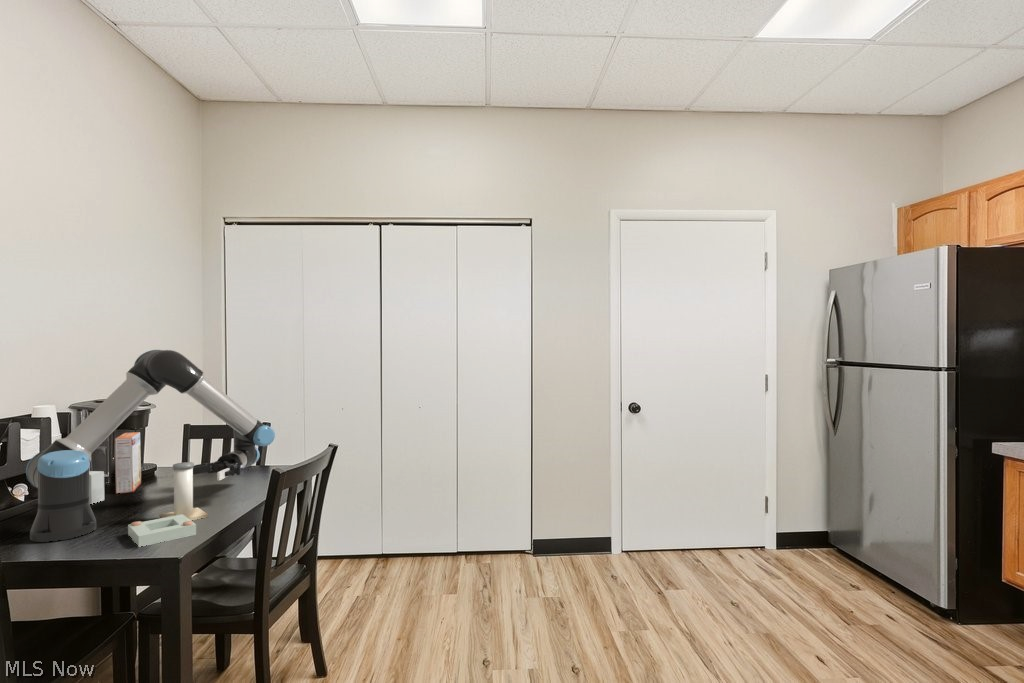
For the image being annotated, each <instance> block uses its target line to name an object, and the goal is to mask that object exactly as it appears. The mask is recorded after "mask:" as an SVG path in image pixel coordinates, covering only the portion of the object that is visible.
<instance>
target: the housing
mask: <svg viewBox="0 0 1024 683" xmlns="http://www.w3.org/2000/svg"><path fill="white" fill-rule="evenodd" d="M127 532H128V533H127V535H128V537H129V536H130V537H131V538H132V539H131V538H130V537H129V538H130V539H131V541H132V542H133V543H134V544H135V543H136V544H137V545H138V546H137V545H136V544H135V545H136V546H137V547H138V548H142V547H141V546H143V547H146V545H147V546H150V545H151V546H152V545H156V544H159V543H160V542H161V543H165V542H169V541H170V542H171V541H174V540H178V539H183V538H187V537H192V536H196V535H197V523H195V522H194V520H193V521H191V520H190V519H188V518H187V517H186V516H184V515H183V514H181V515H176V516H170V517H165V518H156V519H150V520H146V521H141V520H138V521H133V522H131V523H130V524H128V525H127ZM164 541H165V542H164Z"/></svg>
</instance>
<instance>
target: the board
mask: <svg viewBox="0 0 1024 683" xmlns="http://www.w3.org/2000/svg"><path fill="white" fill-rule="evenodd" d="M170 516H174V511H171V512H167V513H159V517H160V518H165V517H170ZM186 517H187V518H188V519H190V520H191V521H192V520H193V521H197V519H198V520H202V519H201V518H203V519H206V517H208V518H209V514H208V512H205V511H204V510H202V509H201V508H200V507H193V514H191V515H188V516H186ZM160 518H159V519H160Z"/></svg>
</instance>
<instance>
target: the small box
mask: <svg viewBox="0 0 1024 683" xmlns="http://www.w3.org/2000/svg"><path fill="white" fill-rule="evenodd" d="M100 501H101V502H103V501H105V472H104V471H103V470H102V471H101V470H98V471H97V470H94V471H93V470H89V504H92V505H94V504H93V503H95V504H97V502H98V503H100Z"/></svg>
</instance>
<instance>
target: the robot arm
mask: <svg viewBox="0 0 1024 683" xmlns="http://www.w3.org/2000/svg"><path fill="white" fill-rule="evenodd" d="M204 374H205V373H204V371H203V370H201V369H200V368H199V367H198V366H197V365H196V364H194V363H193V362H192V361H191V360H190V359H188V358H187V357H186V356H185V355H183V354H182V353H180V352H177V351H176V350H172V349H164V350H163V349H151V350H148V351H145V352H143V353H142V354H140V355H138V357H137V358H136V359H135V361H134V363H133V366H132V367H131V368H130V369H129V370H127V372H126V373H125V376H126V377H125V380H124V381H123V382H122V383H121V384H120V385H119V386H118V387H117V388H116V389H115V390H114V391H113V392H112V393H111V394H110V395H109V396H108V397H106V399H105V400H103V401H102V403H101V404H99V405H98V406H97V407H96V408H95V409H94V410H93V411H92V412H90V413H89V415H88V416H87V417H86V418H85V419H84V420H83V421H81V423H79V425H78V426H77V427H75V428H74V429H73V430H72V431H71V432H70V433H69V434H68V435H67V436H66V437H63V438H57V439H55V440H54V441H53V442H52V443H51V444H50V445H49V446H48V447H47V448H46V449H45V450H42V451H40V452H37V453H36V454H35V455H33V457H32V458H31V459H30V460H29V461H28V463H27V465H26V469H25V474H26V480H27V481H28V482H29V483H30V485H31V486H33V487H34V488H36V489H37V513H36V516H35V518H34V520H33V523H32V525H31V528H30V531H29V540H30V541H31V542H35V543H50V542H49V541H53V542H59V541H58V540H61V541H65V540H71V539H75V538H74V537H76V538H79V537H82V536H81V535H83V536H86V535H88V534H90V532H91V533H92V531H93V530H94V531H96V529H97V519H96V516H95V514H94V512H93V510H92V507H91V505H90V504H89V471H90V467H91V466H90V465H91V461H92V454H93V452H94V451H96V450H97V449H98V448H99V447H100V445H102V444H103V442H105V441H106V440H107V439H108V437H109V436H111V434H112V433H114V432H115V431H116V429H117V428H118V427H119V426H120V425H121V424H123V422H124V421H125V420H126V419H127V418H129V416H130V415H131V414H132V413H133V412H134V411H135V410H136V409H137V408H138V407H140V405H142V403H143V402H144V401H145V400H147V399H148V397H149V396H153V395H155V396H156V395H158V394H159V393H160V392H161V391H162V390H163V389H164V388H165V387H166V386H169V387H170V388H173V389H174V390H175V391H177V392H179V393H180V394H187V395H188V396H190V398H192V399H193V400H195V401H196V402H198V404H200V405H202V407H204V408H206V409H207V410H208V411H209V412H211V413H212V414H213V415H215V417H217V418H218V419H220V420H221V421H222V422H224V423H225V424H227V426H229V427H231V428H232V430H233V451H231V452H228V453H225V454H223V455H221V456H220V457H218V459H217V461H214V462H208V461H207V462H204V463H199V464H194V467H193V476H194V475H199V474H205V473H207V474H213V473H216V479H217V480H216V481H221V480H223V479H225V478H229V477H231V476H235V474H236V475H237V476H240V475H241V471H242V470H243V469H245V468H249V467H251V466H253V465H255V463H257V462H258V461H259V459H260V456H261V455H260V451H259V449H258V447H268V446H269V445H271V444H272V443H273V442H274V440H275V438H276V432H275V430H274V429H273V428H272V426H271V427H270V426H269V425H267V424H266V425H265V424H264V423H263V422H261V421H260V420H258V419H257V418H256V417H255V416H254V415H252V414H251V413H250V412H248V411H247V410H246V409H245V408H243V407H242V406H241V404H239V403H238V402H236V401H234V399H232V398H231V397H230V396H229V395H228V394H226V393H224V391H222V389H220V388H219V387H218V386H216V385H215V384H214V383H212V382H211V381H210V379H207V378H206V377H205V375H204ZM94 531H93V532H94ZM87 533H88V534H87ZM85 534H86V535H85ZM78 536H79V537H78Z"/></svg>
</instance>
